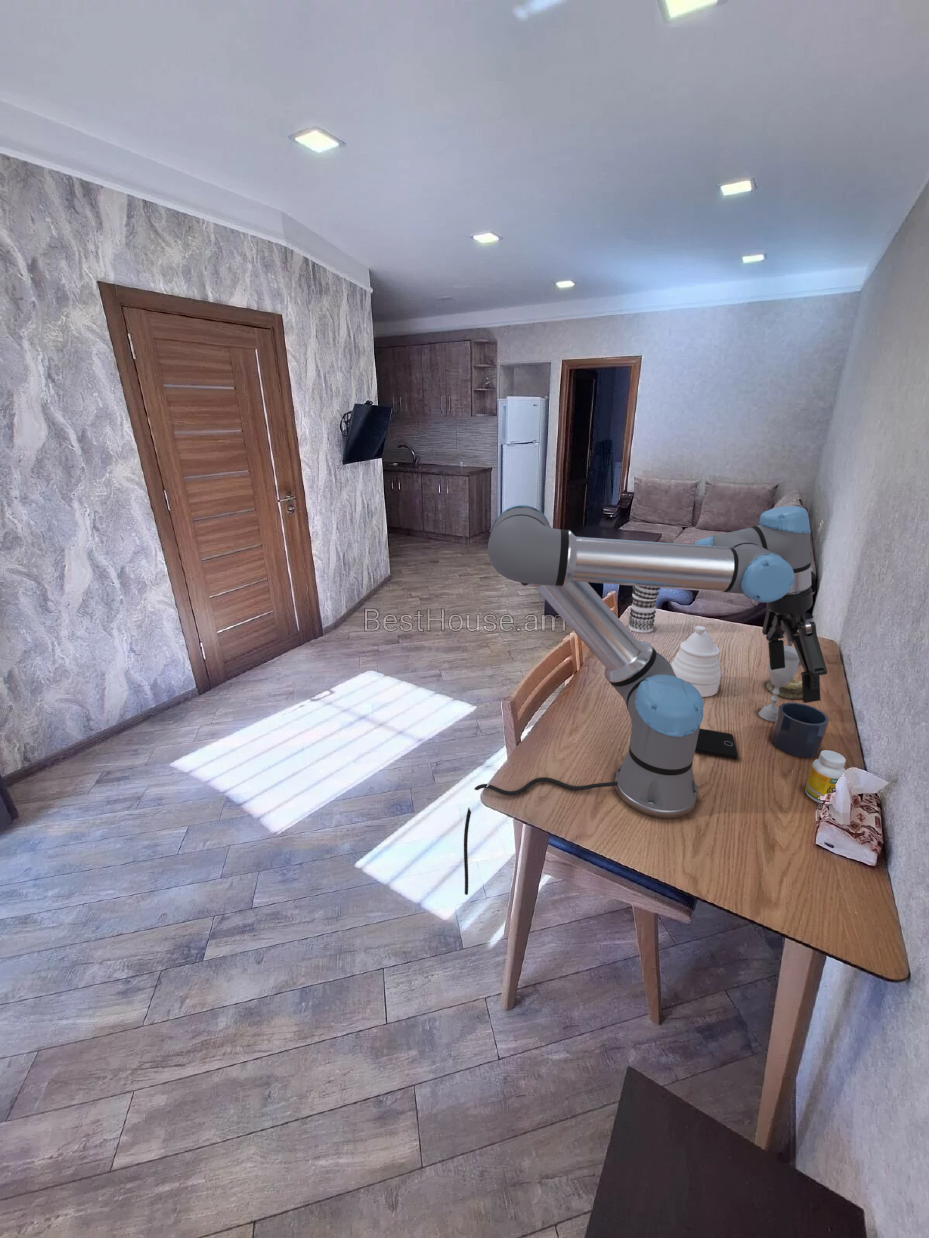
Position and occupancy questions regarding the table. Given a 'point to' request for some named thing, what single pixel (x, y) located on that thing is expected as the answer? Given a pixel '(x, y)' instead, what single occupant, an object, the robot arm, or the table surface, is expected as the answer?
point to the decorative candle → (643, 608)
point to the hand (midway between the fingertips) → (793, 683)
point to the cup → (799, 729)
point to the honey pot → (699, 662)
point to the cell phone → (716, 743)
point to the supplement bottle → (824, 774)
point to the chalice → (780, 681)
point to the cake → (788, 689)
